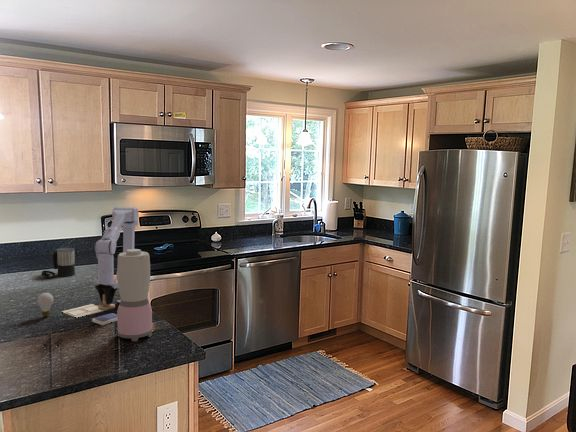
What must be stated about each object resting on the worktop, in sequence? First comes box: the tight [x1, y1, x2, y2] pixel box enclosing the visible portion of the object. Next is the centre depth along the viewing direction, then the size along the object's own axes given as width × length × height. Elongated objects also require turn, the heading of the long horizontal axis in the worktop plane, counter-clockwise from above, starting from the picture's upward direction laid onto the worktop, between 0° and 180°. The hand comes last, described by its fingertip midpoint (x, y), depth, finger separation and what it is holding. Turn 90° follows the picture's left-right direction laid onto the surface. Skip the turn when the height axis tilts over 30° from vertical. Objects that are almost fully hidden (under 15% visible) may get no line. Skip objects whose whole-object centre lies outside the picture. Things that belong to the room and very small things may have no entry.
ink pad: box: [91, 312, 117, 326], centre depth 189 cm, size 9×7×2 cm
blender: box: [116, 248, 153, 342], centre depth 172 cm, size 16×12×32 cm
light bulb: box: [36, 292, 54, 318], centre depth 191 cm, size 6×6×10 cm
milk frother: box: [40, 247, 76, 279], centre depth 259 cm, size 14×16×15 cm
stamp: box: [97, 294, 116, 312], centre depth 188 cm, size 4×4×6 cm
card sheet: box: [61, 303, 104, 319], centre depth 200 cm, size 14×12×1 cm
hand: (106, 302), depth 188 cm, fingers closed on stamp, 3 cm apart
